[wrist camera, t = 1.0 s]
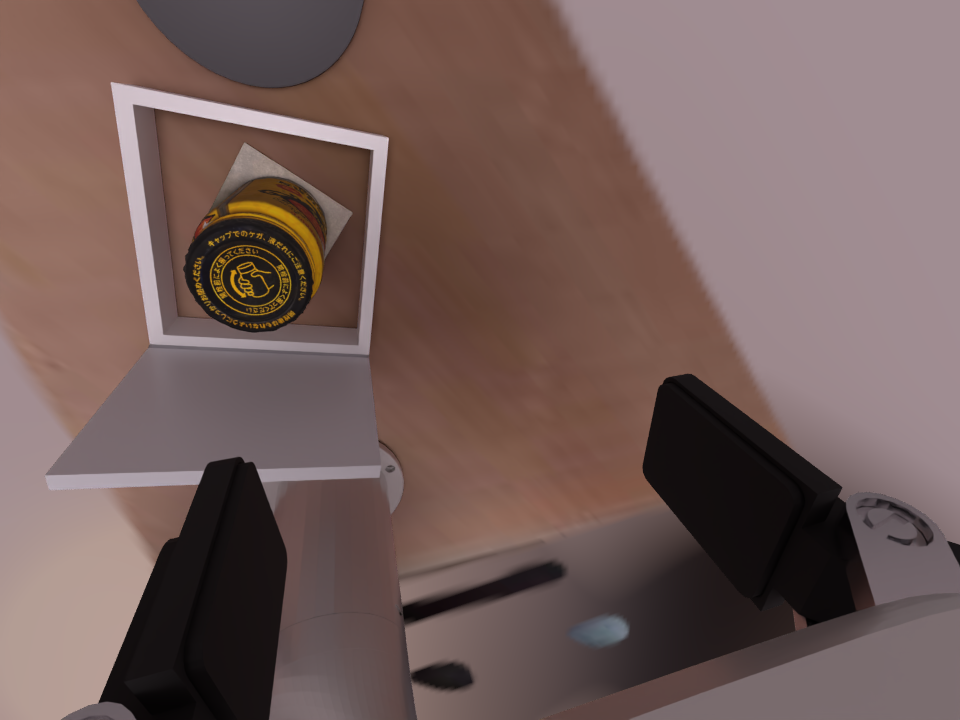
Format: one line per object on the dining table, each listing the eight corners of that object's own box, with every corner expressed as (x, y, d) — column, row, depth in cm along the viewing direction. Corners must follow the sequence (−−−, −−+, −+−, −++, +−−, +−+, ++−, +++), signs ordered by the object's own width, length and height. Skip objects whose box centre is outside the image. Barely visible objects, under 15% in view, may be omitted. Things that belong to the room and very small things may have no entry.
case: (366, 348, 36) (379, 478, 23) (167, 338, 31) (49, 491, 19) (384, 135, 29) (418, 155, 16) (134, 84, 25) (-84, 58, 12)
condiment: (352, 212, 31) (358, 261, 21) (293, 310, 33) (272, 399, 23) (245, 141, 27) (188, 160, 17) (186, 256, 29) (105, 333, 19)
